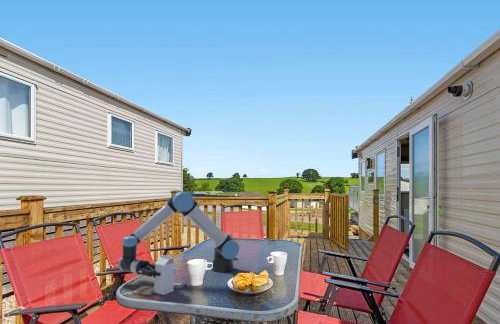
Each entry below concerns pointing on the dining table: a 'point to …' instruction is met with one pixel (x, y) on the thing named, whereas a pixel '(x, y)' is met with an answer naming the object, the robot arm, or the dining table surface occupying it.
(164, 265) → the milk carton
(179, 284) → the label panel
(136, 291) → the coaster
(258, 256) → the dining table surface
